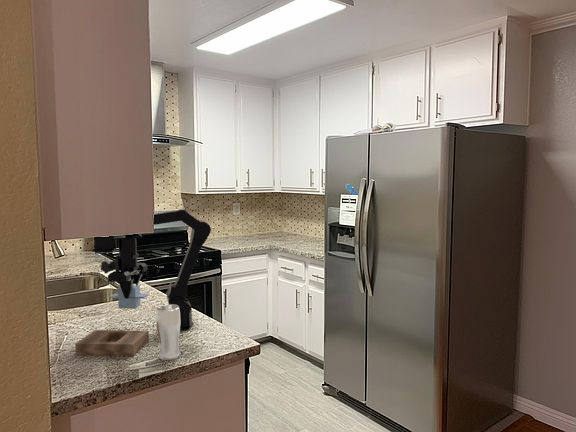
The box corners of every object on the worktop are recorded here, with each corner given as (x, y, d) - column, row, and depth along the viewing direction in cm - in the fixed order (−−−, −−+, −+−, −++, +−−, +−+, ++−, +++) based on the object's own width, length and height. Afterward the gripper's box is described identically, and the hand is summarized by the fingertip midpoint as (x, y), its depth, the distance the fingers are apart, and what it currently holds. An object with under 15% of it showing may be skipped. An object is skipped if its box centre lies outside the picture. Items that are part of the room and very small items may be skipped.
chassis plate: (148, 341, 143) (148, 330, 143) (133, 355, 131) (133, 344, 131) (95, 340, 144) (95, 330, 144) (75, 354, 132) (75, 343, 132)
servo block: (115, 305, 152) (114, 283, 151) (148, 305, 151) (148, 283, 151) (109, 308, 148) (109, 285, 147) (144, 308, 147) (143, 286, 147)
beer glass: (157, 362, 126) (155, 311, 125) (157, 353, 133) (156, 305, 132) (181, 359, 128) (180, 309, 127) (181, 350, 135) (179, 303, 133)
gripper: (116, 247, 158) (118, 289, 159) (90, 256, 139) (92, 304, 141) (147, 247, 157) (148, 290, 158) (124, 256, 139) (126, 304, 140)
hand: (129, 296), depth 149 cm, fingers closed on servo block, 4 cm apart
